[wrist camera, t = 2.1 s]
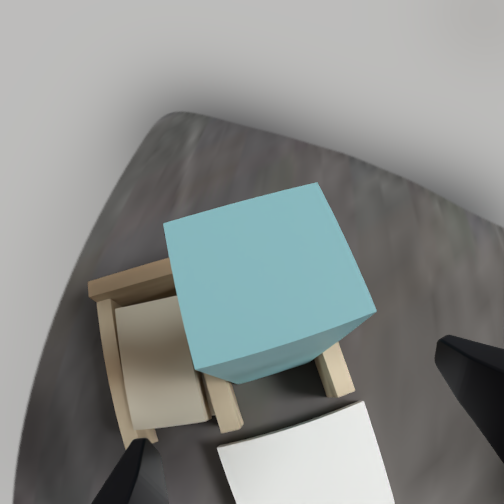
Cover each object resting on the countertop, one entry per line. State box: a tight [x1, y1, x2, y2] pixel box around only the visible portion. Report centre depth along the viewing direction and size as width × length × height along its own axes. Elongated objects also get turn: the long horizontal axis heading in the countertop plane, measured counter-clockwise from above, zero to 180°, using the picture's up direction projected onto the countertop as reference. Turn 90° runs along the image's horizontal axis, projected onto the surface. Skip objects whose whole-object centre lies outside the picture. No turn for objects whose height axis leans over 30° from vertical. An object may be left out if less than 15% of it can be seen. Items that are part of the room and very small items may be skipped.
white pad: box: [217, 401, 395, 504], centre depth 14 cm, size 9×9×1 cm
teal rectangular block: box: [163, 182, 377, 384], centre depth 13 cm, size 4×4×12 cm
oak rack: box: [88, 258, 355, 449], centre depth 17 cm, size 10×13×4 cm
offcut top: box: [115, 296, 212, 430], centre depth 16 cm, size 7×4×2 cm, turn 14°
